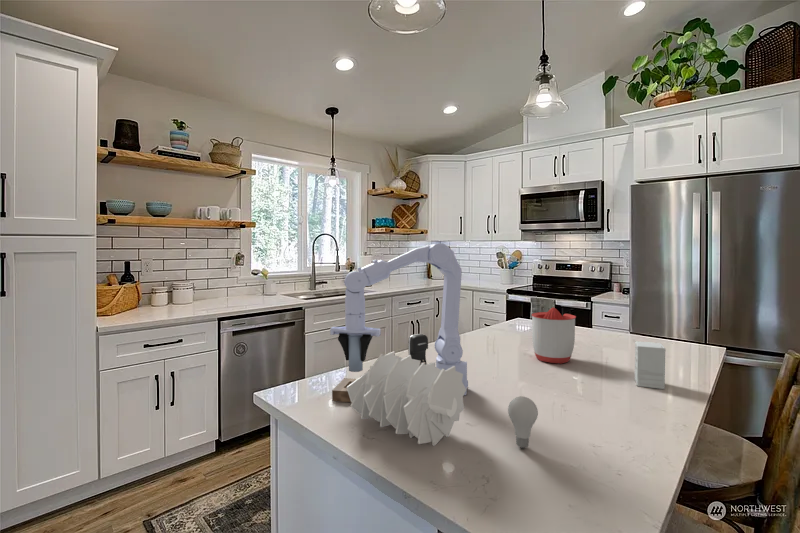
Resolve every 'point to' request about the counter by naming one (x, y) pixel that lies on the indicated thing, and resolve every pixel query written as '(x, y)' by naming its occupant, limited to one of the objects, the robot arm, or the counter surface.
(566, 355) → the citrus juicer
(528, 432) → the lightbulb
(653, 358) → the supplement box
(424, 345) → the battery charger
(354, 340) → the peg
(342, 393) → the socket block
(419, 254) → the robot arm
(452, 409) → the spiral staircase
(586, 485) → the counter surface
